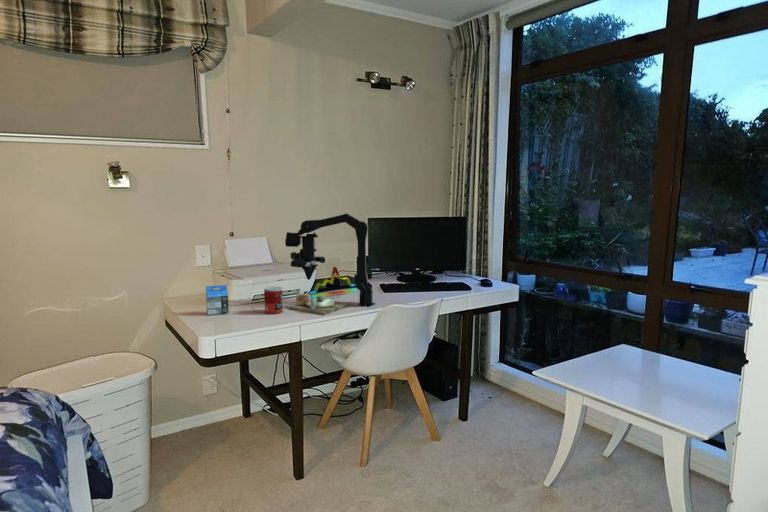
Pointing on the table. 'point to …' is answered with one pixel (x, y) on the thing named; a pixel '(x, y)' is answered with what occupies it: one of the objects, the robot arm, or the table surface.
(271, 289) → the canned food
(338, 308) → the beige square tray
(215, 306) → the label tape cartridge
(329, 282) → the chart
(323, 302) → the flange plate
